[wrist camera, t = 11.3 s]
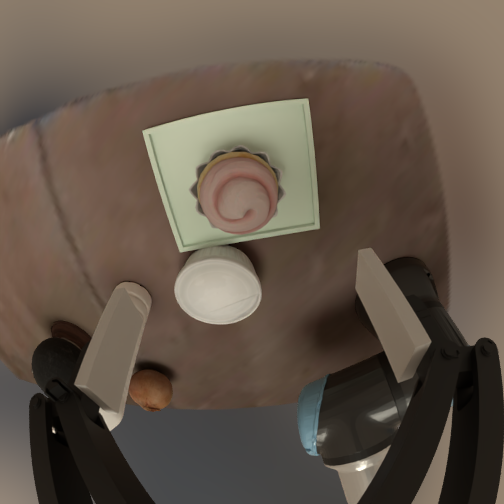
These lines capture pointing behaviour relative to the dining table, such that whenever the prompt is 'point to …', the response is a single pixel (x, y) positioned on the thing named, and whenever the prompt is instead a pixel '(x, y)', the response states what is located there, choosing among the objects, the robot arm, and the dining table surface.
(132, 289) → the water bottle
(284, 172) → the tray
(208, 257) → the ramekin
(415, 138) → the dining table surface
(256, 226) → the cupcake
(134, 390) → the onion
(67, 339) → the black ball on stand
